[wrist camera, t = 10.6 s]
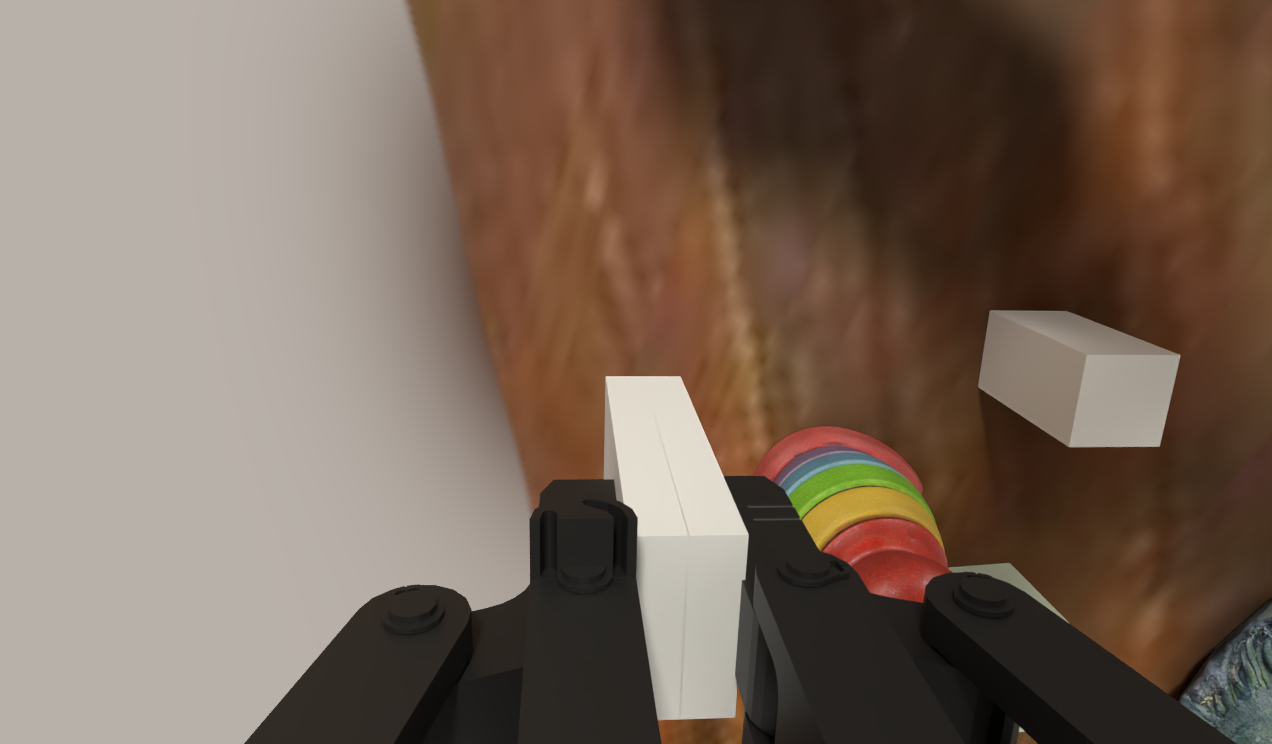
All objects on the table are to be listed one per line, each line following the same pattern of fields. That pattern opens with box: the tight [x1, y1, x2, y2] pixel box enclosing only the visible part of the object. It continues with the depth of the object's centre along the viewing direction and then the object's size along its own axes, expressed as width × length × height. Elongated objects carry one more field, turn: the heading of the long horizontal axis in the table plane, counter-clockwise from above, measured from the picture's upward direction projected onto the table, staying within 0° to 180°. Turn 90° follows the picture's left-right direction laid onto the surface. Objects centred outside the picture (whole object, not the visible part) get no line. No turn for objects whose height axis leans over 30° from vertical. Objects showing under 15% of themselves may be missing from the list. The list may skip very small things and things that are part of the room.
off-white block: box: [978, 310, 1181, 447], centre depth 47 cm, size 5×5×10 cm
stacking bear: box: [754, 426, 953, 603], centre depth 45 cm, size 11×10×18 cm
